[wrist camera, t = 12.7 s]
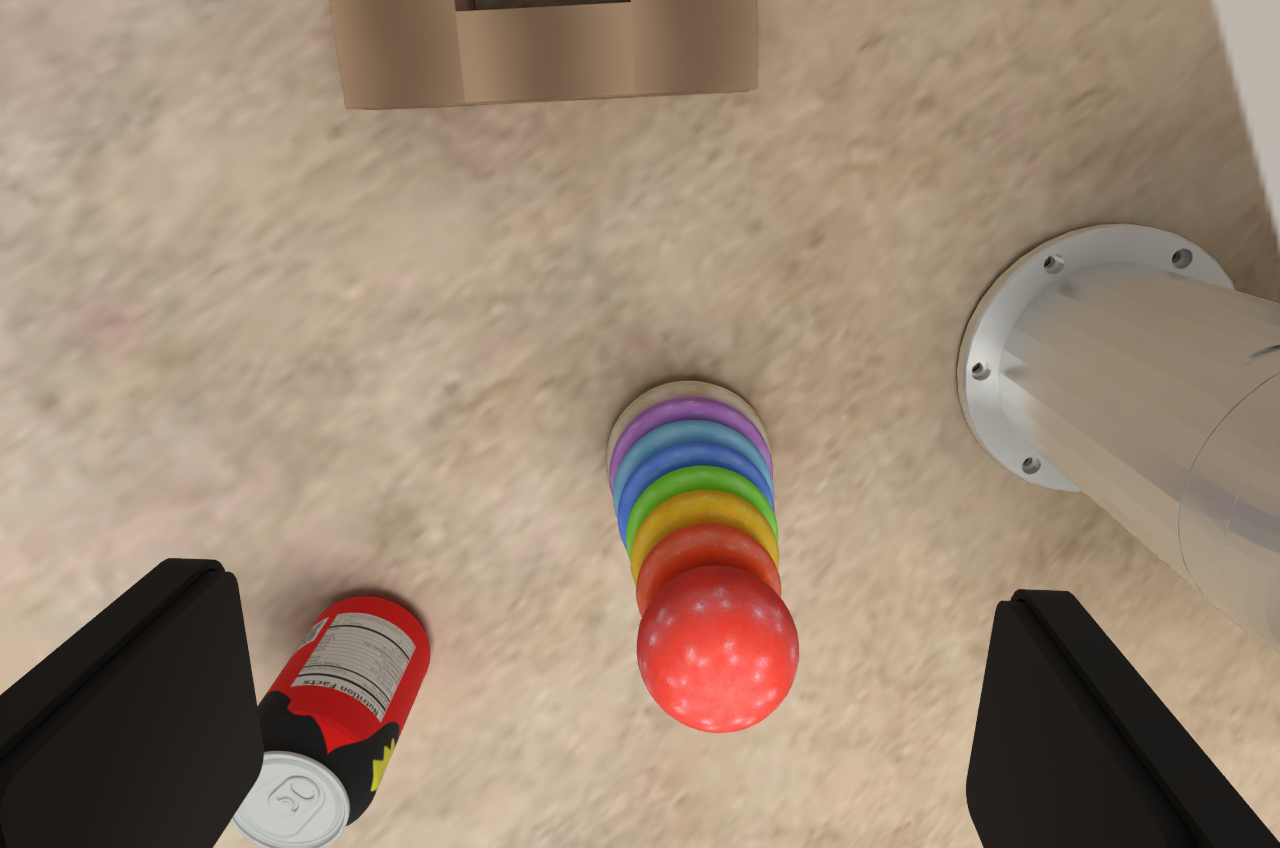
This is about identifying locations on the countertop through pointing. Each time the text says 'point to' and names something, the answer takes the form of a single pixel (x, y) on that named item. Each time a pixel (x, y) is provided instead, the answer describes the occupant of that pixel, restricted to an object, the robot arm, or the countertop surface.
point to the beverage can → (334, 723)
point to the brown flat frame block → (540, 51)
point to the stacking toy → (703, 555)
